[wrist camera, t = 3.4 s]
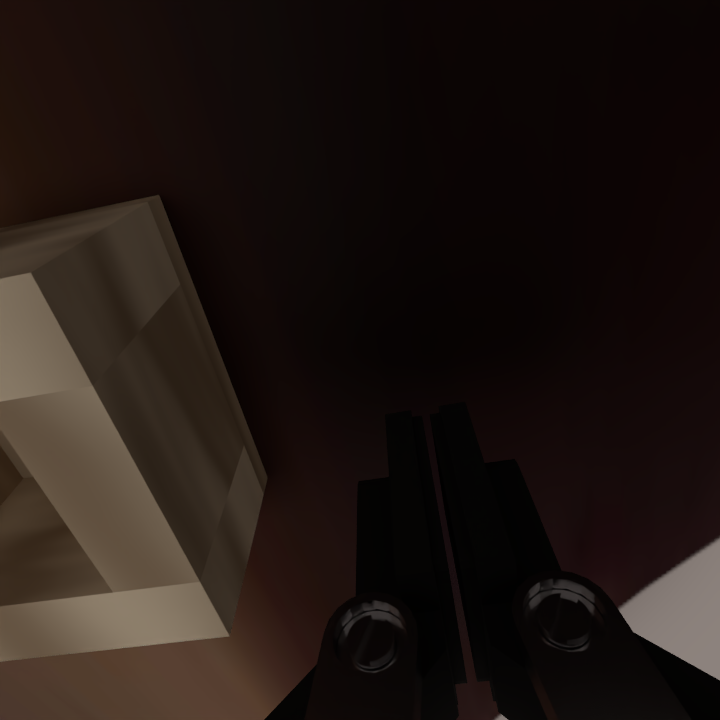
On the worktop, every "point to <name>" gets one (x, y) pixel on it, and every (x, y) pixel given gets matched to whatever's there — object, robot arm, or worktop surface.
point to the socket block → (115, 442)
